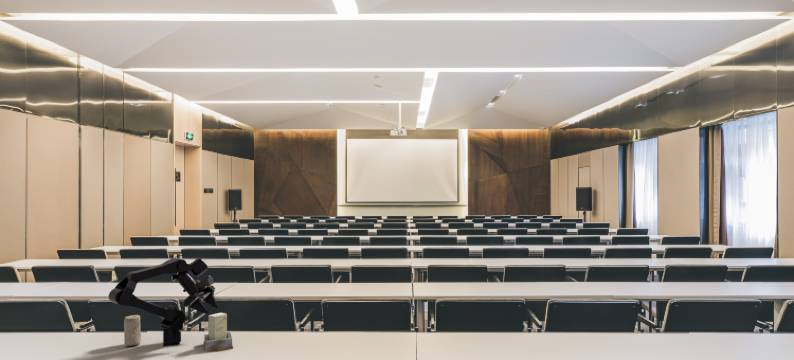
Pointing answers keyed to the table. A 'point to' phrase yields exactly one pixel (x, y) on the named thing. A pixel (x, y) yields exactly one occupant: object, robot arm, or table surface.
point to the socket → (217, 343)
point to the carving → (132, 330)
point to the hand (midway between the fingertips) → (212, 310)
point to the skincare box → (217, 326)
